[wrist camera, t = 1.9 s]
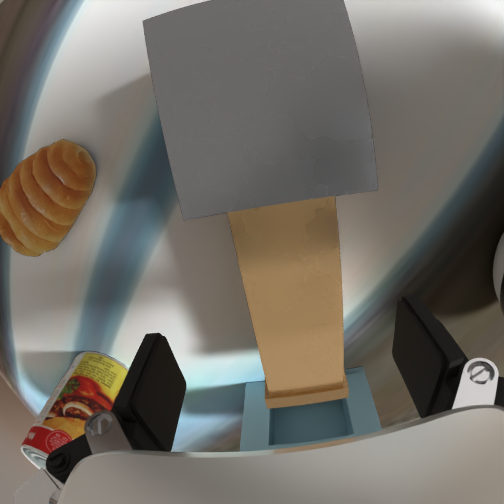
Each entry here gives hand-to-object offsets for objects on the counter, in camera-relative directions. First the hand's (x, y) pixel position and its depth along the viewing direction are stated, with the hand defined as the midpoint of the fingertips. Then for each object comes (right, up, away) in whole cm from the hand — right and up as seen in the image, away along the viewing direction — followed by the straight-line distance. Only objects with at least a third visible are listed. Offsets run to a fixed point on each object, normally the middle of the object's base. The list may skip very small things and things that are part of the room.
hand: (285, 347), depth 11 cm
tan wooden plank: (0, +6, +6) cm, 8 cm away
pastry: (-16, +8, +7) cm, 20 cm away
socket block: (+3, -8, +13) cm, 16 cm away
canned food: (-16, -9, +14) cm, 23 cm away
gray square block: (-1, +12, +4) cm, 13 cm away
